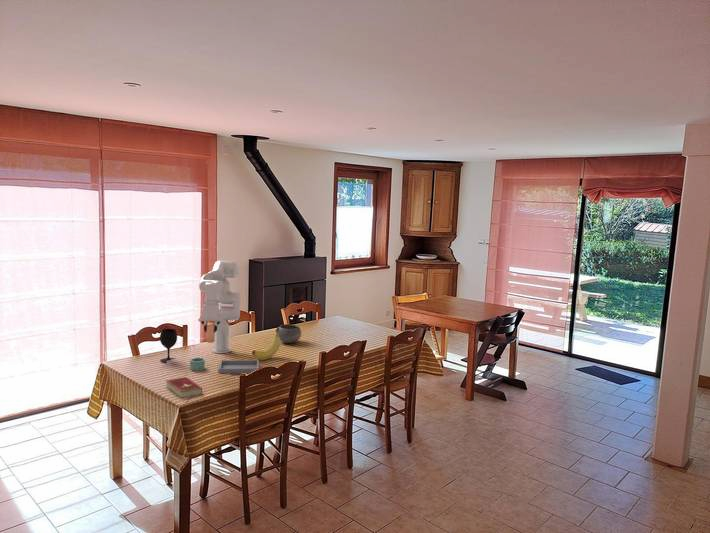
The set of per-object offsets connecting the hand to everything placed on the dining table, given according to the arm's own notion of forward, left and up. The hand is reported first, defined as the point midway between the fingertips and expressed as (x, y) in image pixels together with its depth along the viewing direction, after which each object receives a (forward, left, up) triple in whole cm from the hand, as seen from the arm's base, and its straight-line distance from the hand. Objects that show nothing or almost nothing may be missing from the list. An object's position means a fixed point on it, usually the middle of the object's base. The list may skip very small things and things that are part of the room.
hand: (210, 331), depth 327 cm
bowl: (-64, +53, -25) cm, 86 cm away
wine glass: (-20, -27, -24) cm, 42 cm away
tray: (0, +18, -24) cm, 30 cm away
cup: (0, -7, -24) cm, 25 cm away
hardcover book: (+35, -11, -25) cm, 44 cm away
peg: (0, 0, -6) cm, 6 cm away
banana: (-23, +35, -25) cm, 48 cm away
